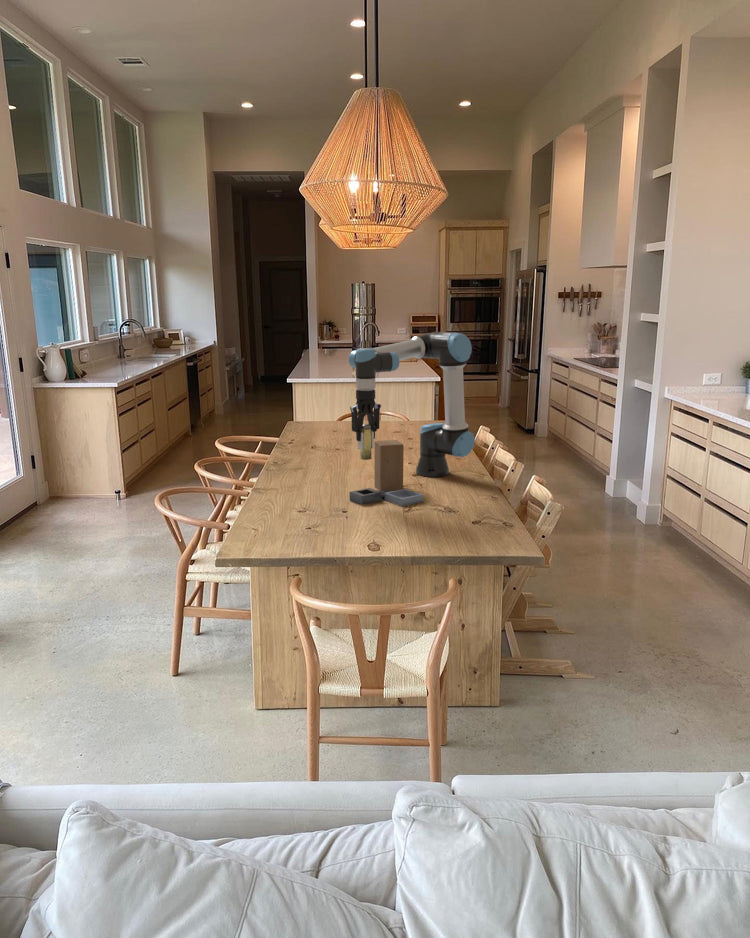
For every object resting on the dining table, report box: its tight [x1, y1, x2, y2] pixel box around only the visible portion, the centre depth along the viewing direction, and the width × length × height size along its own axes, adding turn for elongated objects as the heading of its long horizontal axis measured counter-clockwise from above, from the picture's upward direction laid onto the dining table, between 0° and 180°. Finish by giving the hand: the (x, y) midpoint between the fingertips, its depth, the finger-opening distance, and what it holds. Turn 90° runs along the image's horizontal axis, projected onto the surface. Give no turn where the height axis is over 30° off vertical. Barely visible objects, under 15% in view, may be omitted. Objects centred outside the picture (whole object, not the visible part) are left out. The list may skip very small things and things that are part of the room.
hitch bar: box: [349, 487, 392, 506], centre depth 296 cm, size 18×8×4 cm, turn 128°
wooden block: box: [373, 439, 405, 491], centre depth 310 cm, size 10×10×20 cm
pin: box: [359, 423, 372, 461], centre depth 288 cm, size 4×4×14 cm
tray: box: [384, 488, 424, 507], centre depth 293 cm, size 11×11×3 cm
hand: (365, 448), depth 289 cm, fingers closed on pin, 4 cm apart
